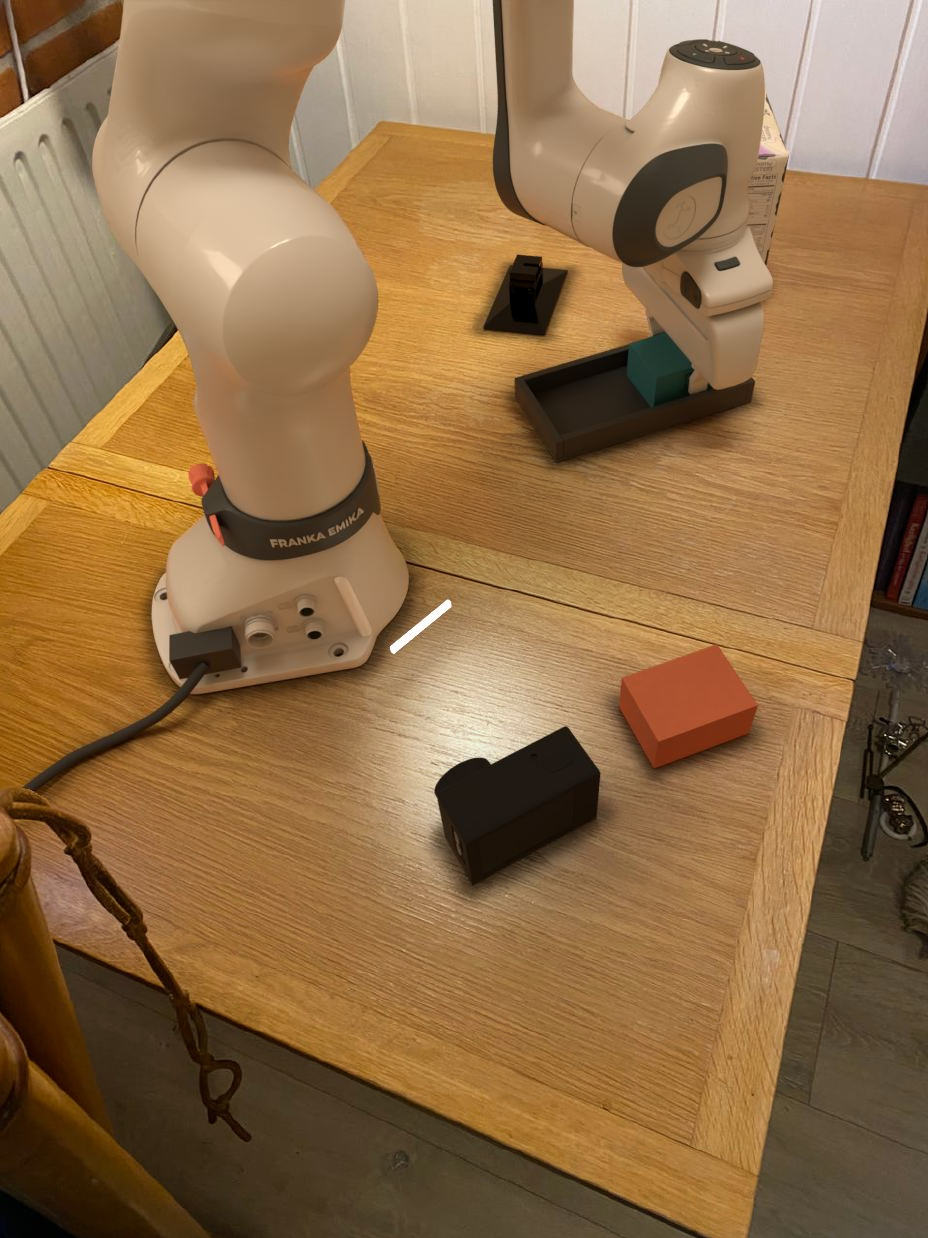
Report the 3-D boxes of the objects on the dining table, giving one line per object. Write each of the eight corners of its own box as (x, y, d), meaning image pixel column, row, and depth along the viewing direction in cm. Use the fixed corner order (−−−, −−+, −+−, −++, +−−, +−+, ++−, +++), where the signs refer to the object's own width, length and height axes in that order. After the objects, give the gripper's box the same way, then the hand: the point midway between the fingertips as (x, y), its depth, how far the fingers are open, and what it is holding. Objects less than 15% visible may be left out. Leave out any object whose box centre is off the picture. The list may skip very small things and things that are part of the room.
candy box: (693, 235, 114) (711, 90, 101) (743, 232, 113) (768, 87, 100) (707, 303, 105) (729, 155, 92) (762, 300, 105) (791, 151, 92)
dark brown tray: (555, 463, 92) (556, 442, 90) (514, 397, 98) (514, 377, 96) (751, 402, 95) (755, 380, 93) (699, 342, 101) (702, 321, 99)
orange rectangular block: (653, 769, 71) (658, 741, 68) (618, 706, 75) (621, 677, 71) (749, 733, 72) (758, 705, 69) (710, 673, 76) (717, 643, 73)
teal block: (653, 410, 94) (656, 377, 91) (626, 375, 98) (628, 342, 95) (725, 388, 96) (731, 355, 93) (696, 354, 99) (701, 321, 96)
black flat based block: (544, 337, 104) (544, 300, 100) (480, 330, 106) (477, 294, 102) (568, 272, 111) (569, 235, 107) (507, 266, 113) (506, 230, 109)
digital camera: (558, 760, 72) (558, 710, 67) (598, 817, 69) (602, 770, 64) (436, 824, 70) (426, 778, 64) (472, 886, 67) (464, 843, 61)
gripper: (609, 196, 90) (604, 321, 101) (717, 312, 78) (697, 440, 89) (669, 179, 91) (657, 305, 102) (785, 292, 79) (757, 420, 90)
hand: (677, 369), depth 96 cm, fingers closed on teal block, 6 cm apart
